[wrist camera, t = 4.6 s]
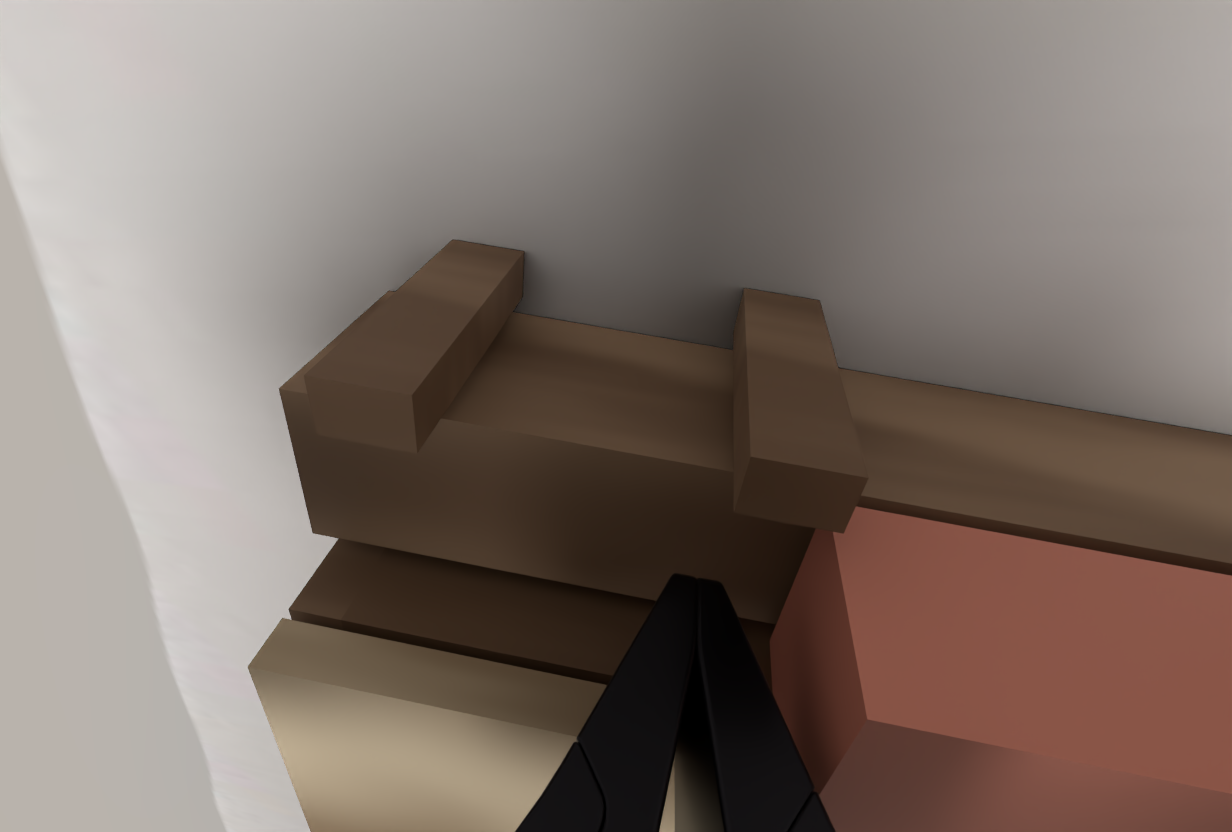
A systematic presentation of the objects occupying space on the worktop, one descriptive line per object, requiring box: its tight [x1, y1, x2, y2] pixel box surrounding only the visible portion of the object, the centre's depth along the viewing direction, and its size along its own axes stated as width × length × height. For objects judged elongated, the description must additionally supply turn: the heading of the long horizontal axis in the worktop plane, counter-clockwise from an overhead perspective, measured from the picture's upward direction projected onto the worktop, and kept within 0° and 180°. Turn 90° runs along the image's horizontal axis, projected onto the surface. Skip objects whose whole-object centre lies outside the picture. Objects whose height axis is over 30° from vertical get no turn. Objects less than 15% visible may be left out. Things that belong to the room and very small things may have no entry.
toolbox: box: [279, 240, 1232, 693], centre depth 16 cm, size 19×21×6 cm
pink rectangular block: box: [770, 507, 1232, 832], centre depth 9 cm, size 4×9×4 cm, turn 83°
